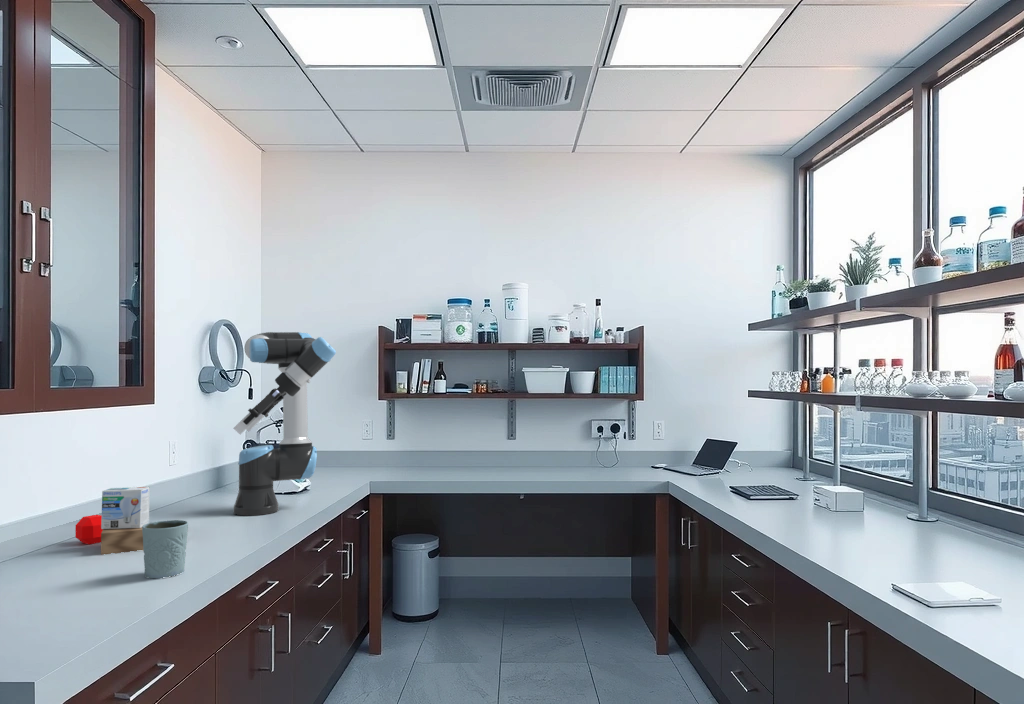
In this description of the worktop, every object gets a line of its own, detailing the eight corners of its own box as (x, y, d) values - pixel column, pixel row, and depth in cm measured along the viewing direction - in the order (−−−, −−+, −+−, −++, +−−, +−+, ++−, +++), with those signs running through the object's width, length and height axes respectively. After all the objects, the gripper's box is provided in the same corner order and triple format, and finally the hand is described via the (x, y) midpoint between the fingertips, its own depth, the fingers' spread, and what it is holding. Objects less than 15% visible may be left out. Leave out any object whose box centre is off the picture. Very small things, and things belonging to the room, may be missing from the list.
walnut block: (101, 555, 194) (101, 533, 194) (104, 545, 206) (105, 524, 206) (146, 551, 198) (146, 529, 199) (147, 541, 211) (147, 521, 211)
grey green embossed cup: (166, 567, 179) (166, 518, 179) (197, 570, 175) (197, 521, 175) (131, 577, 169) (132, 526, 170) (164, 581, 166) (164, 529, 166)
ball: (114, 541, 211) (114, 515, 211) (85, 546, 204) (85, 519, 204) (100, 538, 215) (100, 512, 215) (71, 543, 209) (72, 517, 209)
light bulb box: (100, 529, 199) (100, 490, 199) (110, 525, 205) (110, 487, 206) (141, 528, 200) (141, 489, 201) (149, 523, 207) (150, 486, 207)
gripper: (296, 388, 208) (242, 441, 205) (305, 387, 232) (257, 435, 229) (277, 370, 207) (223, 423, 204) (288, 371, 232) (240, 419, 228)
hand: (241, 430), depth 216 cm, fingers open, 13 cm apart
